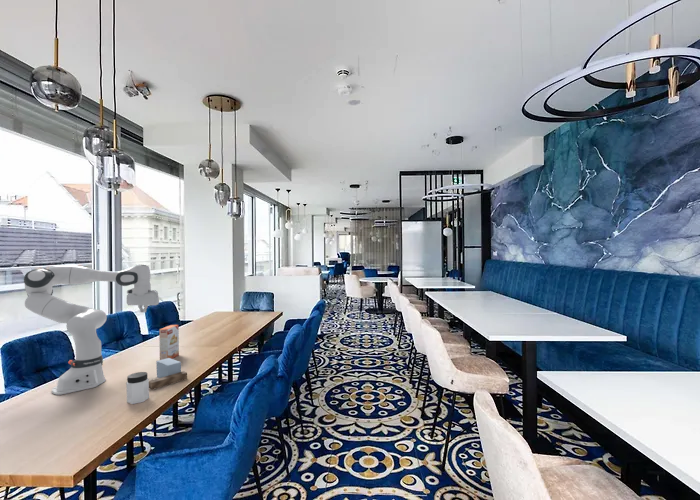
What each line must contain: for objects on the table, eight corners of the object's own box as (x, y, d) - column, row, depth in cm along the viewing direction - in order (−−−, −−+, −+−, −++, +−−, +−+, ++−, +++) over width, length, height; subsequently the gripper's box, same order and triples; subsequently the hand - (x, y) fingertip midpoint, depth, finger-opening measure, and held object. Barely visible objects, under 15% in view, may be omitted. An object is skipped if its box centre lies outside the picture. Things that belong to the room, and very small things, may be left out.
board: (151, 389, 175) (151, 382, 175) (148, 388, 177) (148, 381, 177) (187, 379, 189) (187, 372, 189) (183, 377, 191) (183, 371, 191)
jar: (123, 401, 161) (123, 376, 161) (141, 395, 168) (140, 370, 168) (134, 405, 157) (133, 379, 157) (152, 398, 164) (151, 373, 164)
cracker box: (168, 361, 221) (167, 329, 221) (159, 361, 221) (158, 329, 221) (179, 355, 235) (179, 324, 235) (171, 355, 235) (170, 324, 235)
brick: (168, 382, 185) (167, 365, 185) (156, 377, 193) (156, 361, 194) (181, 378, 190) (180, 362, 190) (169, 373, 199) (169, 357, 199)
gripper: (161, 289, 215) (161, 311, 215) (132, 289, 219) (133, 311, 219) (153, 290, 209) (154, 313, 209) (124, 290, 213) (125, 313, 213)
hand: (143, 312), depth 214 cm, fingers closed
